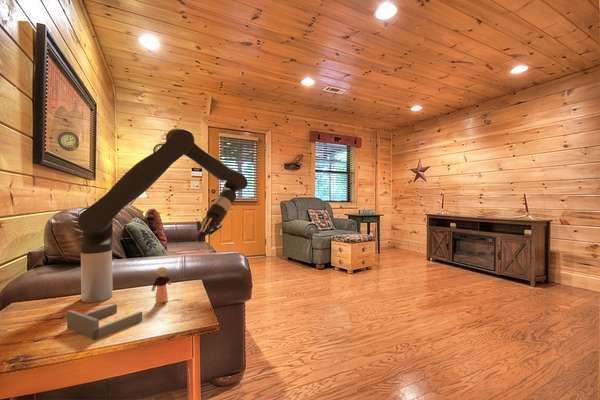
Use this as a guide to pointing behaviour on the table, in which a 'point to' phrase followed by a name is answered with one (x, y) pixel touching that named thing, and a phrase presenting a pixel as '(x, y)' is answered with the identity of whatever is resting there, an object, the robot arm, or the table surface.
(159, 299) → the grandmother figurine
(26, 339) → the table surface
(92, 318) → the charcoal bay
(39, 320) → the table surface
